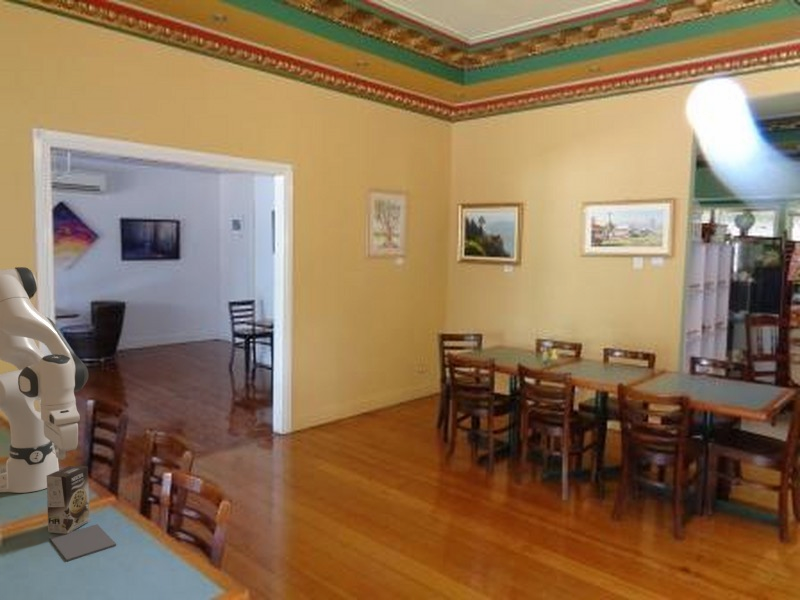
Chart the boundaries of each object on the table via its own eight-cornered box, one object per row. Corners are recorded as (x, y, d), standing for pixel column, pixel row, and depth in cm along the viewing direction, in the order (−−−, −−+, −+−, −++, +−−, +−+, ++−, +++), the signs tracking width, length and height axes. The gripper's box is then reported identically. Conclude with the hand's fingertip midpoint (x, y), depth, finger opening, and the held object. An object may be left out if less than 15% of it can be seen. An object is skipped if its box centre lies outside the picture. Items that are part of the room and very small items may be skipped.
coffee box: (67, 534, 164) (65, 476, 163) (47, 532, 165) (44, 475, 164) (91, 520, 173) (88, 465, 172) (71, 519, 174) (69, 464, 173)
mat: (50, 539, 162) (50, 537, 162) (97, 525, 170) (97, 524, 170) (66, 561, 151) (66, 559, 151) (116, 545, 160) (116, 543, 160)
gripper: (36, 406, 177) (38, 452, 178) (56, 420, 162) (58, 470, 163) (60, 402, 181) (62, 447, 182) (81, 416, 167) (83, 464, 168)
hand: (60, 458), depth 173 cm, fingers closed
